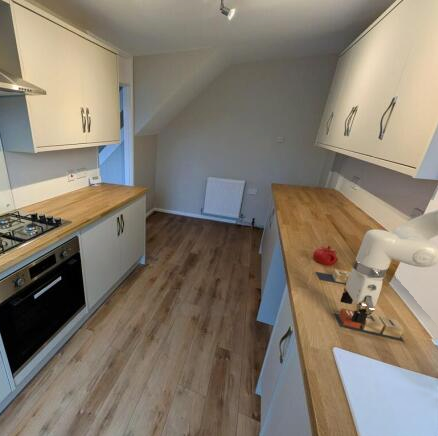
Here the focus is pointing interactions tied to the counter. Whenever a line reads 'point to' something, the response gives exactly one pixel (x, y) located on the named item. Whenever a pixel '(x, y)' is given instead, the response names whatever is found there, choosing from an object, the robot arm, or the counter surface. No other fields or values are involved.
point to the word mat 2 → (365, 330)
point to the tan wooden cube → (372, 324)
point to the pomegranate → (325, 256)
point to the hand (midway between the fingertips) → (351, 311)
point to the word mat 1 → (327, 278)
